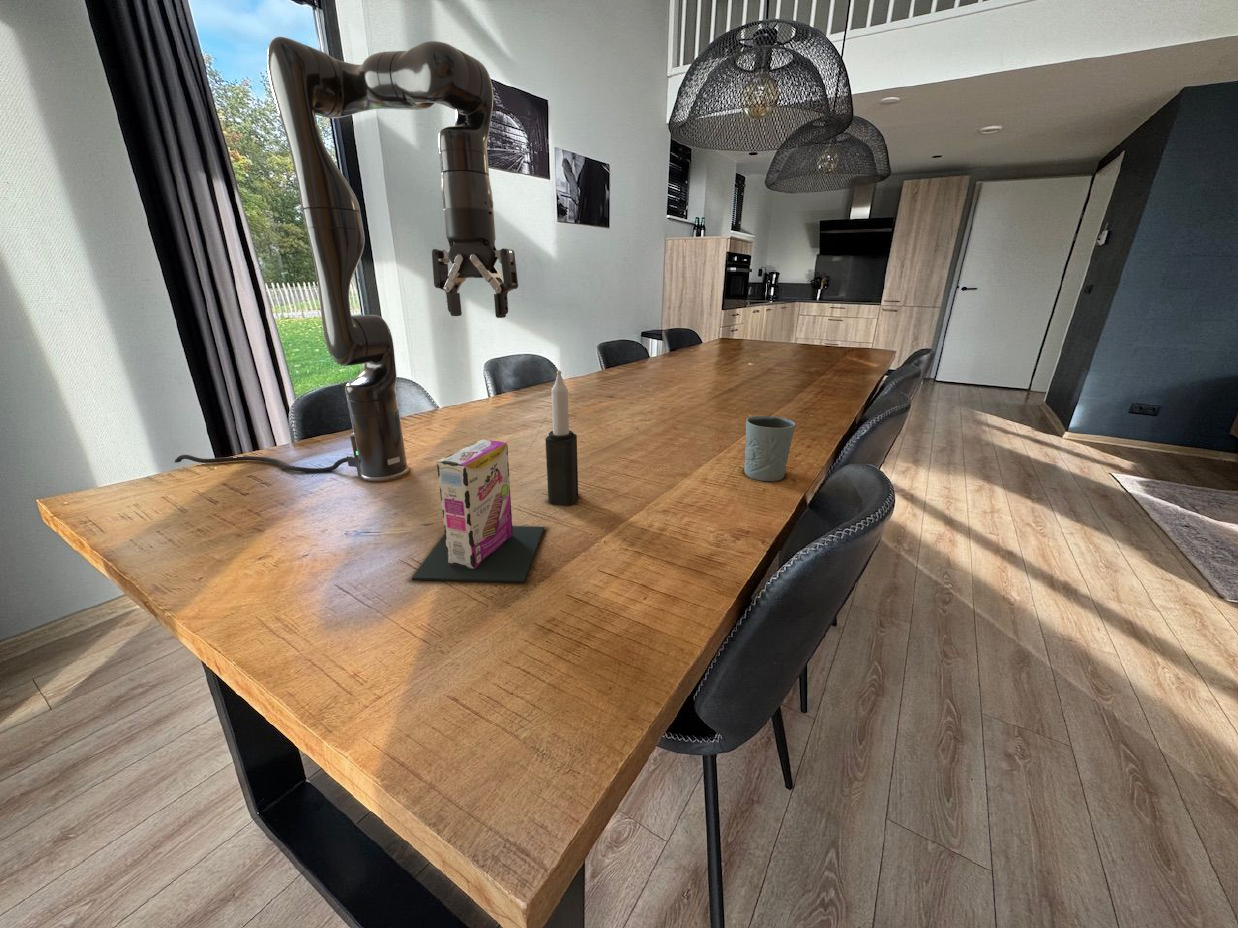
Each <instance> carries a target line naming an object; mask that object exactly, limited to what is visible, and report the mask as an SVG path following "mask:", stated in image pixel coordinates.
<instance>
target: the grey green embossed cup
mask: <svg viewBox="0 0 1238 928" xmlns="http://www.w3.org/2000/svg"><path fill="white" fill-rule="evenodd" d="M796 425H797V424H796V422H795V421H793V420H791V419H789V418H786V417H785V418H784V417H779V416H772V415H754V416H750V417H748V418H746V420H745V445H744V446H745V448H744V467H743V468H744V470H743V471H744V474H745V475H746V476H747V477H748V478H751V479H753V480H757V481H761V482H777V481H781V480H782V479H784V477H785V474H786V470H787V464H788V460H789V456H790V452H791V446H792V442H793V437H794V433H795V429H796Z"/></svg>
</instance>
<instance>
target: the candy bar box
mask: <svg viewBox="0 0 1238 928" xmlns="http://www.w3.org/2000/svg"><path fill="white" fill-rule="evenodd" d="M508 447H509V446H508V442H504V441H497V440H491V439H490V440H489V439H480V440H478V441H476V442H474V443H472V444H470V445H467V446H466V447H464V448H462V449H460V450H458V451H455V452H453V453H451V454H449V455H447V456H445V457H442V458H441V459H438V460H436V468H437V478H438V486H439V495H440V502H441V503H440V504H441V511H442V520H443V529H444V535H445V538H446V546H447V555H448V563H449V564H453V565H457V566H462V567H465V568H470V569H475V568H476V567H478V566H479V565H480V564H481V563H482V562H483V561H484V560H485V559H487V558H488V557H489V556H490V555H491V554H492V553H493V552H494V551H496V550H497V549H498V548H499V547H500V546H501V545H502V544H504V543H505V542H506V541H507V540H508V539H509V538H510V537H512V536H513V528H512V526H513V515H512V497H511V486H510V485H511V481H510V465H509V448H508Z"/></svg>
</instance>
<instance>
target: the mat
mask: <svg viewBox="0 0 1238 928" xmlns="http://www.w3.org/2000/svg"><path fill="white" fill-rule="evenodd" d="M512 528H513V536H512V537H510V538H509V539H508V540H507V541H506V542H505V543H504V544H502V545H501V546H500V547H499V548H498V549H497V550H496V551H494V552H493V553H492V554H491V555H490V556H489V557H488V558H487V559H485V560H484V561H483V562H482V563H481V564H480V565H479V566H478V567H476V568H475V569H470V568H465V567H462V566H457V565H453V564H449V563H448V555H447V546H446V538H445V534H444V535H442V537H441V538H440V540H439V541H438V542H437V544H436V545H435V546H434V547H433V549H432V550H431V551H430V553H429V555H428V556H426V558H425V560H424V561H423V562H422V563H421V565H419V567H418V568H417V570H416V572H415V573H414V574H413V576H412V577H411V580H412V581H432V582H433V581H436V582H437V581H440V582H473V583H475V582H476V583H511V584H512V583H514V584H524V583H525V582H526V581H525V580H526V578H527V575H528V573H529V570H530V568H531V566H532V562H533V560H534V557H535V554H536V552H537V549H538V546H539V545H540V542H541V538H542V536H543V533H544V530H545V526H524V525H523V526H521V525H519V526H517V525H512Z"/></svg>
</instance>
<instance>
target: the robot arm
mask: <svg viewBox="0 0 1238 928" xmlns="http://www.w3.org/2000/svg"><path fill="white" fill-rule="evenodd" d="M266 61H267V62H266V63H267V73H268V78H269V82H270V87H271V91H272V94H273V98H274V101H275V104H276V109H277V111H278V114H279V118H280V123H281V125H282V128H283V131H284V134H285V139H286V141H287V145H288V150H289V153H290V158H291V161H292V166H293V170H294V175H295V180H296V183H297V184H296V185H297V188H298V189H297V190H298V194H299V200H300V207H301V211H302V215H303V221H304V226H305V230H306V231H305V232H306V235H307V238H308V243H309V246H310V252H311V256H312V260H313V261H312V262H313V266H314V271H315V277H316V282H317V289H318V298H319V306H320V314H321V315H320V316H321V323H322V330H323V338H324V342H325V345H326V348H327V351H328V353H329V355H330V357H331V358H332V360H333V361H334V362H335V363H336V364H337V365H340V366H341V367H342V366H343V367H348V366H349V367H351V366H358V365H363V368H362V370H361V372H360V373H359V374H358V375H357V376H356V377H354V378H353V379H351V380H350V381H348V382H347V383H345V386H344V393H345V399H346V402H347V407H348V412H349V417H350V420H351V421H350V422H351V428H352V432H351V433H350V435H349V436H350V437H349V438H350V442H351V447H352V452H353V453H351V454H349V455H347V456H346V457H342V458H340V459H338V460H337V461H335V462H334V463H333V465H331V466H326V467H305V466H297V465H291V464H288V463H286V462H285V461H282V460H281V459H277V458H273V457H267V456H257V455H242V456H243V457H238V456H235V457H237V458H233V457H234V456H226V457H214V458H213V457H212V458H202V457H197V456H193V455H190V454H181V455H179V456H177V457H176V458H175V459H174V463H181V462H182V461H183V460H188V461H192V462H195V463H200V464H214V463H216V464H217V463H228V462H238V461H240V462H241V461H254V462H265V463H271V464H276V465H278V466H281V467H282V468H284V469H285V470H288V471H294V472H299V473H310V474H311V473H314V474H315V473H328V472H331V471H335V470H336V469H338V468H339V467H340V466H341V465H342V464H343V463H347V466H348V467H352V468H355V469H356V472H357V476H358V477H360V478H361V479H362V480H363V481H368V482H375V483H376V482H386V481H387V482H388V481H392V480H396V479H399V478H401V477H404V476H405V475H407V474H408V473H409V470H410V469H409V465H408V459H407V454H406V448H405V439H404V435H403V428H402V422H401V421H402V420H401V414H400V410H399V409H400V408H399V404H398V397H397V391H396V386H397V380H398V377H397V375H398V374H397V368H396V366H397V365H396V356H395V346H394V340H393V335H392V332H391V329H390V327H389V325H388V323H387V322H386V320H385V319H384V318H383V317H382V316H380V315H377V314H356V315H355V314H354V315H352V313H351V304H350V303H351V301H350V290H351V289H350V288H351V283H352V281H353V277H354V274H355V273H356V270H357V266H358V265H359V263H360V261H361V258H362V255H363V252H364V249H365V242H366V238H365V231H364V225H363V219H362V213H361V208H360V204H359V201H358V199H357V196H356V194H355V193H354V191H353V189H352V187H351V185H350V184H349V182H348V181H347V179H346V178H345V176H344V175H343V173H342V172H341V170H340V169H339V167H338V165H337V164H336V163H335V162H334V160H333V158H332V156H331V155H330V153H329V151H328V149H327V147H326V145H325V143H324V140H323V138H322V135H321V133H320V129H319V125H318V124H319V123H318V121H317V117H316V116H319V117H322V118H327V119H340V118H344V117H349V116H352V115H356V114H358V113H362V112H367V111H372V110H401V111H402V110H404V111H405V110H409V111H410V110H411V111H412V110H413V111H414V110H415V111H419V110H421V111H422V110H427V109H429V108H431V107H433V106H434V105H435V104H437V105H442V106H444V107H448V108H450V109H451V110H455V124H454V125H451V126H446V127H444V128H441V130H440V131H439V133H438V138H437V144H438V154H439V163H440V172H441V173H440V175H441V199H442V209H443V219H444V227H445V228H444V229H445V236H446V239H447V241H448V250H446V249H441V248H440V249H438V248H433V249H432V250H431V261H432V262H431V263H432V275H433V286H434V287H435V289H440V290H442V291H444V293H445V295H446V296H445V298H446V303H447V304H446V305H447V310H448V313H449V314H450V316H451V317H461V316H462V313H463V312H462V302H461V293H460V292H459V290H460V288H461V286H462V284H463V283H464V282H465V281H466V280H467V279H474V278H475V279H484V280H485V282H487V283H488V284H489V285H490V287H491V288H492V289H493V291H494V292H495V293H494V294H493V301H494V312H495V317H496V318H497V319H503V318H506V317H507V315H508V313H509V301H508V294H509V292H511V291H513V290H517V289H518V288H519V280H518V271H517V262H516V254H515V250H514V249H512V248H500V249H497V247H496V227H495V226H496V225H495V212H494V200H493V191H492V186H491V179H490V170H489V157H488V156H489V155H488V150H487V149H488V141H489V135H490V129H491V122H492V116H493V108H494V86H493V83H492V79H491V77H490V74H489V72H488V69H487V68H486V67H485V65H484V64H483V63H482V62H481V61H480V60H479V59H477V58H475V57H473V56H471V55H469V54H468V53H465V52H464V51H462V50H460V49H459V48H457V47H455V46H453V45H451V44H450V43H447V42H443V41H437V40H428V41H424V42H421V43H420V44H417V45H415V46H413V47H411V48H409V49H408V50H393V51H391V50H390V51H379V52H376V53H372V54H371V55H369V56H367V58H365V60H364V61H363V62H362V64H356V63H351V62H347V61H343V60H340V59H337V58H335V57H332V55H329V54H328V53H326V52H324V51H322V50H319V49H316V48H314V47H312V46H309V45H307V44H304V43H302V42H300V41H297V40H294V39H291V38H289V37H284V36H276V37H274V38H273V39H272V40H271V41H270V43H269V45H268V49H267V59H266ZM497 261H498V262H499V263H500V264H501V270H502V274H501V273H500V271H499V270H498V268H497V267H496V266H495V265H496V263H497ZM450 262H451V264H452V266H451V268H450V270H449V263H450Z"/></svg>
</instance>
